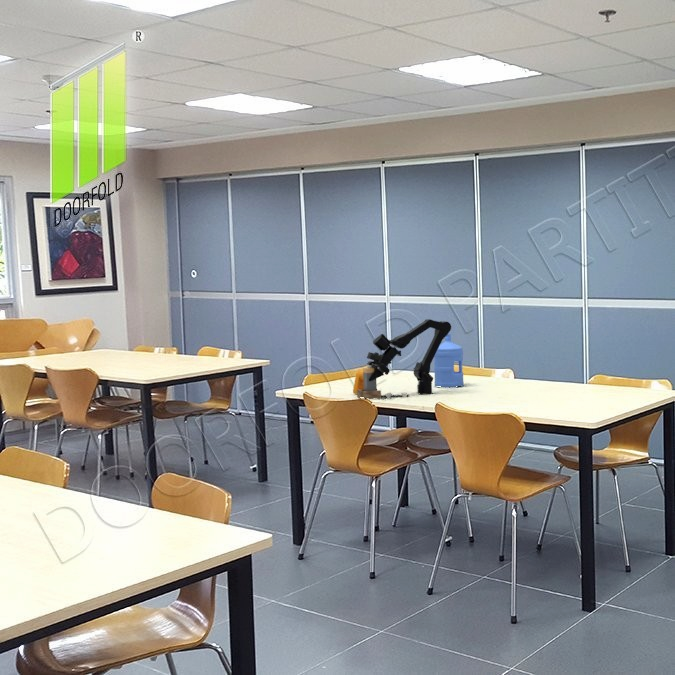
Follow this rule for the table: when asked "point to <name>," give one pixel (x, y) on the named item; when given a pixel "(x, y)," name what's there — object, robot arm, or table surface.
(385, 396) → the cable run
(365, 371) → the grey tall block
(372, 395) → the end cradle
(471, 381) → the table surface
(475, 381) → the table surface
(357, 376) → the orange rounded lump
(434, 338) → the robot arm
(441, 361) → the water jug
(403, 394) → the cable clips
